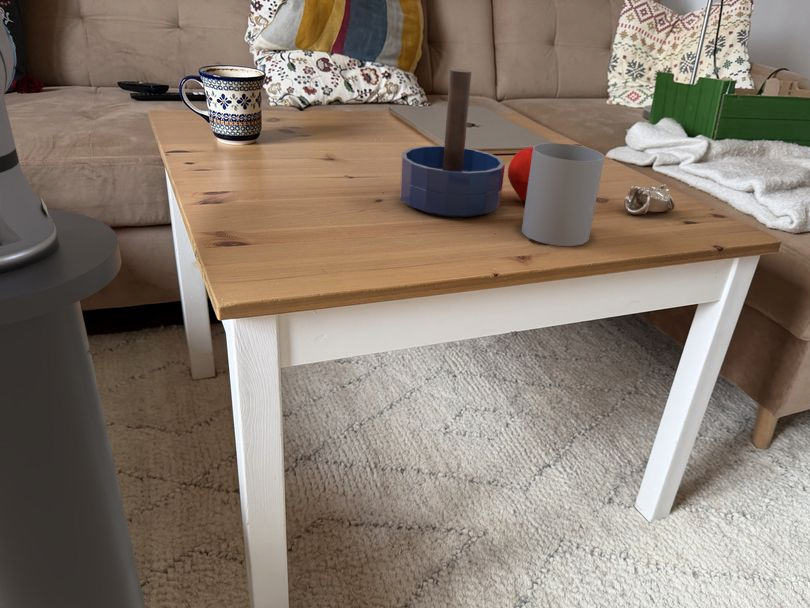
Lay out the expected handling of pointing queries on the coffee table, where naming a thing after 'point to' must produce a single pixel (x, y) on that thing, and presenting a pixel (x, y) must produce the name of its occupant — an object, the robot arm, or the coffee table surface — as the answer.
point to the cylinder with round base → (456, 119)
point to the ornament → (648, 199)
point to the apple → (520, 172)
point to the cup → (561, 193)
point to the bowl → (451, 182)
